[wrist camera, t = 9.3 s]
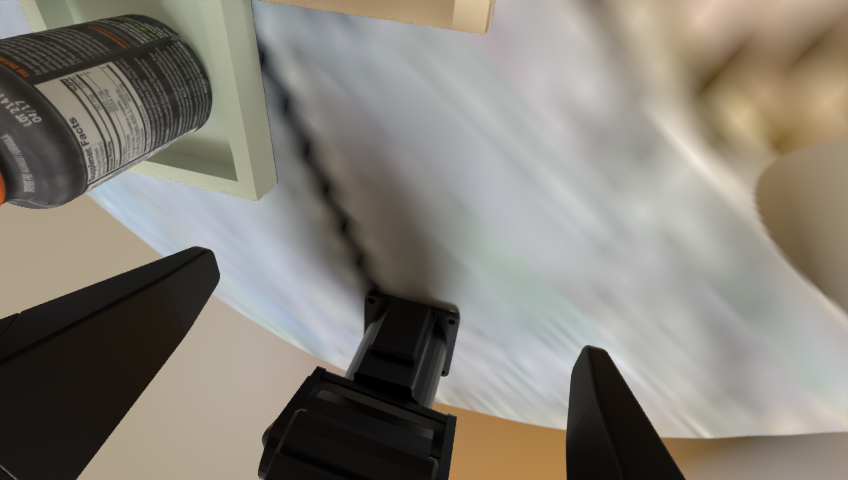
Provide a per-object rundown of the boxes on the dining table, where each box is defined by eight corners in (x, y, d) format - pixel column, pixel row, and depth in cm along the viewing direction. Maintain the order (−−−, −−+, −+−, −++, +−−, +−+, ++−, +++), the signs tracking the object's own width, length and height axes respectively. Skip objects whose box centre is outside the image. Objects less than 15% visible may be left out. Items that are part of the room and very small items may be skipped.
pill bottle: (104, 80, 23) (-183, 172, 14) (122, -18, 19) (-246, 23, 10) (199, 152, 24) (-10, 277, 15) (232, 72, 20) (-14, 176, 12)
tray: (277, 183, 25) (257, 201, 23) (120, 148, 26) (91, 162, 25) (245, -38, 18) (213, -35, 16) (36, -67, 20) (-11, -67, 18)
